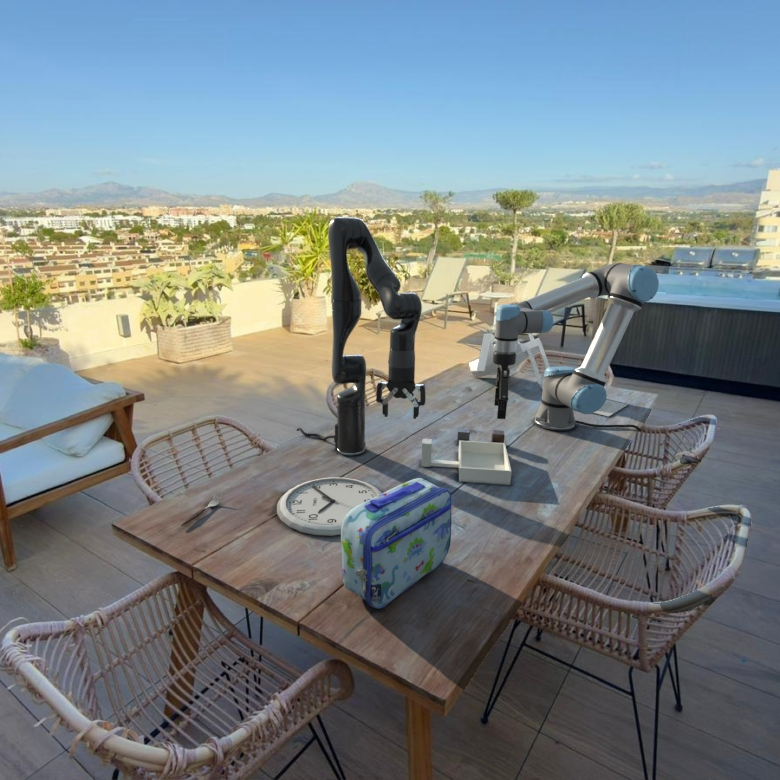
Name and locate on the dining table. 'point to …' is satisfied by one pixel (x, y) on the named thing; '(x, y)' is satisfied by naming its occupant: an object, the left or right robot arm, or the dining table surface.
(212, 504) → the fork
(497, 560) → the dining table surface
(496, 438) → the walnut block
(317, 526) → the wall clock
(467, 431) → the charcoal block
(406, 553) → the lunch box
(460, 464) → the tray
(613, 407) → the invitation card
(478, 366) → the white plastic object
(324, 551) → the dining table surface
